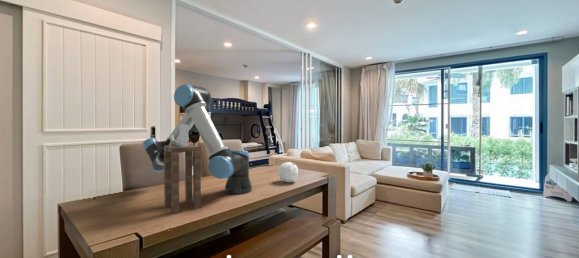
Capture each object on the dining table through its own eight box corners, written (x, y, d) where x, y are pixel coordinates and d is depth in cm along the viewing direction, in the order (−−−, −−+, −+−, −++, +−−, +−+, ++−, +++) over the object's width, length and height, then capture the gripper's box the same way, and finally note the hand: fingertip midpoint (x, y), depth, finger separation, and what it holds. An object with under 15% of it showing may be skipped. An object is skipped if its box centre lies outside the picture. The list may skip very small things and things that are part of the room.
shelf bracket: (168, 143, 126) (167, 123, 125) (174, 143, 128) (174, 123, 127) (181, 146, 111) (181, 124, 110) (188, 146, 113) (188, 124, 112)
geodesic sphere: (306, 172, 167) (294, 155, 169) (301, 176, 154) (288, 158, 156) (289, 183, 170) (278, 167, 172) (283, 188, 157) (271, 170, 159)
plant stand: (164, 205, 116) (163, 145, 115) (190, 200, 124) (190, 144, 123) (173, 213, 106) (172, 148, 105) (200, 207, 114) (200, 146, 113)
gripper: (181, 161, 139) (195, 143, 124) (149, 164, 129) (159, 145, 113) (179, 149, 142) (192, 129, 126) (147, 151, 131) (157, 130, 116)
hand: (177, 137), depth 120 cm, fingers closed on shelf bracket, 3 cm apart
